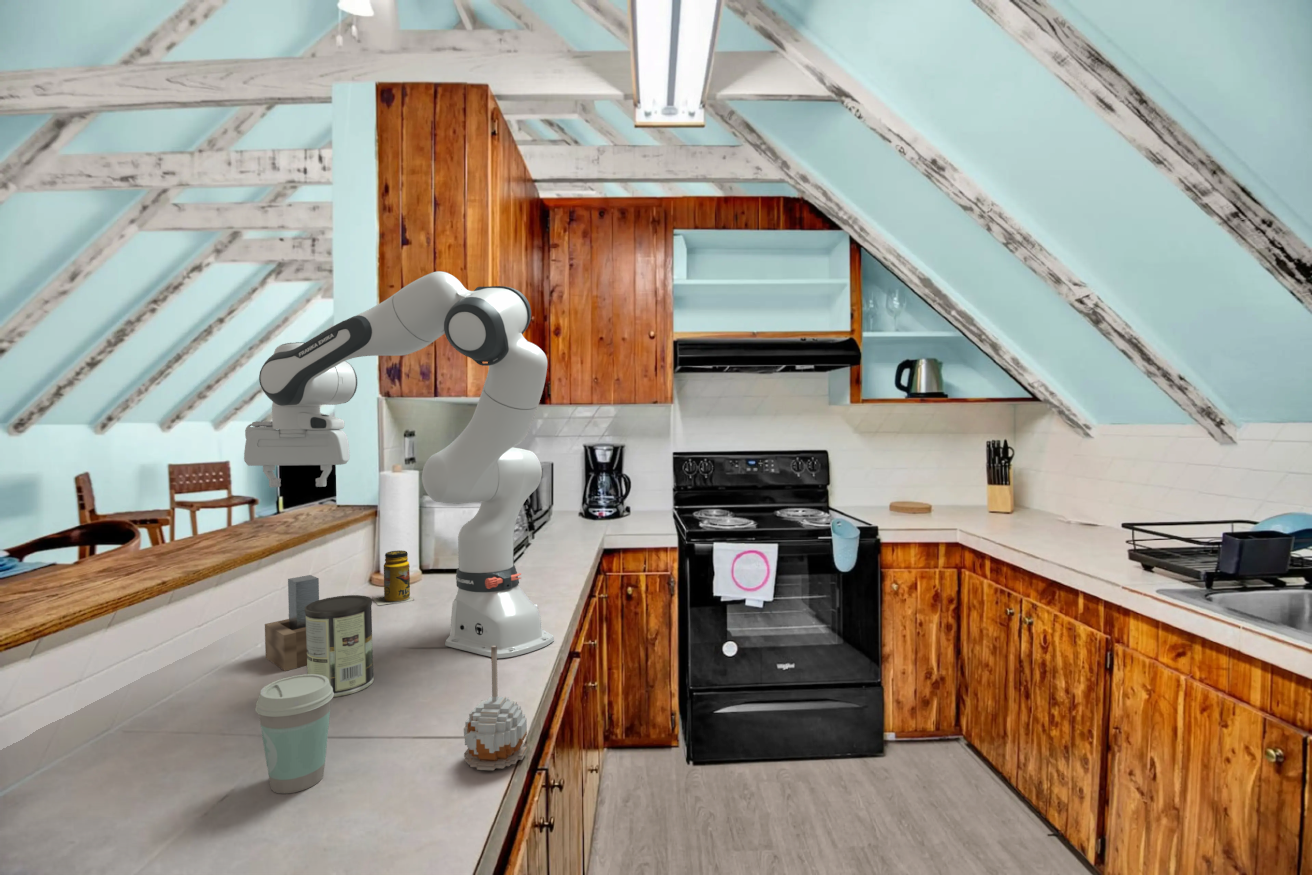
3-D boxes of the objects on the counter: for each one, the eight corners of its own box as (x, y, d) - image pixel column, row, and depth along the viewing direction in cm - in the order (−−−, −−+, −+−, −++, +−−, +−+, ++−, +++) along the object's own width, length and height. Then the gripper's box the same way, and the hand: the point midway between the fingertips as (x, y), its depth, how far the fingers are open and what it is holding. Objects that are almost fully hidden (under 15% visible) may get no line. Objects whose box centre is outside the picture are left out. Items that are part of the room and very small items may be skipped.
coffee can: (340, 670, 117) (339, 592, 116) (387, 677, 113) (385, 597, 113) (291, 693, 107) (289, 608, 106) (340, 701, 103) (338, 614, 103)
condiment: (414, 600, 162) (413, 552, 161) (378, 606, 157) (377, 557, 157) (407, 594, 168) (406, 548, 167) (372, 599, 163) (371, 552, 163)
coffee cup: (278, 764, 85) (276, 673, 84) (346, 760, 85) (344, 670, 85) (242, 802, 76) (240, 701, 76) (318, 798, 77) (315, 698, 77)
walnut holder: (342, 655, 124) (341, 621, 124) (284, 671, 116) (284, 635, 116) (320, 643, 130) (320, 611, 130) (265, 657, 123) (264, 623, 123)
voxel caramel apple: (478, 742, 90) (476, 635, 90) (533, 744, 89) (531, 637, 89) (455, 772, 82) (453, 656, 82) (515, 775, 82) (513, 657, 81)
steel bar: (320, 655, 124) (318, 578, 123) (297, 661, 121) (295, 582, 120) (312, 651, 126) (310, 574, 126) (289, 656, 123) (288, 578, 123)
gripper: (236, 421, 132) (238, 489, 132) (339, 420, 133) (340, 487, 134) (253, 421, 138) (255, 485, 139) (352, 420, 139) (353, 484, 140)
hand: (298, 486), depth 136 cm, fingers open, 8 cm apart
